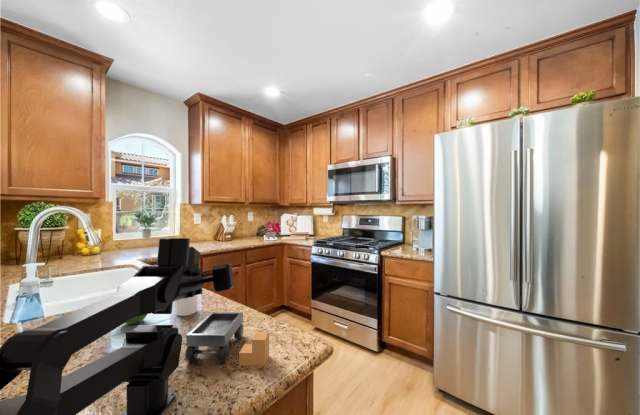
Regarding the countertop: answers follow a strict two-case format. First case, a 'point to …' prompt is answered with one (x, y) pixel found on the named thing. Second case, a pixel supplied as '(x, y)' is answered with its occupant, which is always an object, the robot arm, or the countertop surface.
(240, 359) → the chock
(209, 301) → the countertop surface
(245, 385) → the countertop surface
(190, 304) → the can
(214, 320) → the tray
